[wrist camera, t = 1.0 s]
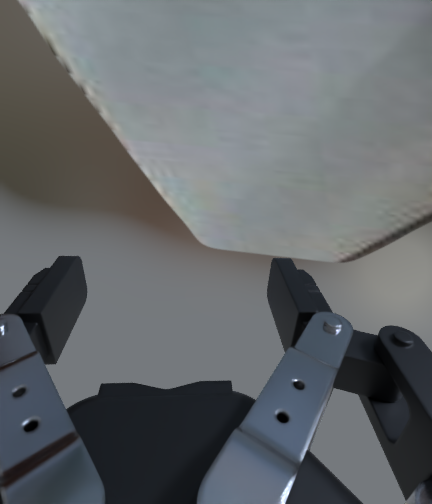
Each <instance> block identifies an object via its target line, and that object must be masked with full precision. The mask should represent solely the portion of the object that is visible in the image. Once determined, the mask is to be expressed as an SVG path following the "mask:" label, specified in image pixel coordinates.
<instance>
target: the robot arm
mask: <svg viewBox="0 0 432 504" xmlns="http://www.w3.org/2000/svg"><path fill="white" fill-rule="evenodd" d="M267 297H268V302H269V305H270V308H271V312H272V314H273V318H274V321H275V324H276V327H277V330H278V333H279V336H280V339H281V342H282V345H283V348H284V351H285V354H284V356H283V357H282V359H281V361H280V363H279V364H278V366H277V367H276V369H275V370H274V372H273V374H272V375H271V377H270V378H269V380H268V382H267V384H266V385H265V387H264V388H263V390H262V391H261V393H260V395H259V396H258V398H257V399H256V400H255V399H253V398H251V397H249V396H247V395H245V394H242V393H239V392H236V391H232V383H231V381H199V382H195V383H192V384H187V385H184V386H180V387H176V388H172V389H161V388H155V387H151V386H146V385H142V384H137V383H107V384H101V386H100V390H99V393H98V395H95V396H92V397H89V398H86V399H84V400H82V401H79V402H77V403H76V404H74V405H72V406H71V407H69V408H67V409H66V408H65V406H64V404H63V402H62V400H61V398H60V396H59V393H58V391H57V389H56V387H55V385H54V383H53V381H52V379H51V377H50V375H49V372H48V370H47V368H46V366H45V364H56V363H57V361H58V359H59V357H60V354H61V352H62V350H63V348H64V346H65V344H66V342H67V340H68V338H69V336H70V333H71V331H72V329H73V327H74V325H75V323H76V321H77V318H78V317H79V315H80V312H81V310H82V308H83V306H84V304H85V302H86V298H87V285H86V280H85V275H84V270H83V265H82V260H81V258H80V257H79V256H59V257H58V258H57V259H56V261H55V262H54V263H53V265H52V266H51V267H50V268H45V269H43V270H41V271H40V272H38V273H37V274H35V275H34V276H33V277H32V279H31V280H30V281H29V282H28V285H26V286H25V288H24V289H23V290H22V292H21V293H20V294H19V295H18V296H17V298H16V299H15V300H14V301H13V303H12V304H11V305H10V306H9V308H8V309H7V310H6V312H5V313H4V314H0V504H363V503H362V502H361V501H360V500H359V499H358V498H357V497H356V496H355V495H354V494H353V493H352V492H351V491H350V490H349V489H348V488H347V487H346V486H345V485H344V484H343V483H342V482H341V481H340V480H339V479H338V478H337V477H336V476H335V475H334V474H333V473H332V472H330V470H329V469H328V468H327V467H325V466H324V464H322V463H321V462H320V461H319V460H318V459H317V458H316V457H315V456H314V455H313V454H312V453H311V452H310V449H311V446H312V443H313V441H314V438H315V435H316V432H317V430H318V427H319V425H320V422H321V420H322V417H323V414H324V412H325V409H326V406H327V404H328V401H329V399H330V396H331V394H332V391H333V388H336V389H340V390H344V391H348V392H352V393H355V394H358V395H359V397H360V400H361V402H362V404H363V406H364V408H365V411H366V413H367V415H368V417H369V420H370V422H371V424H372V426H373V428H374V431H375V433H376V435H377V437H378V440H379V442H380V444H381V446H382V448H383V451H384V453H385V455H386V457H387V460H388V462H389V464H390V466H391V468H392V471H393V473H394V475H395V477H396V479H397V482H398V484H399V486H400V488H401V490H402V493H403V495H404V497H405V500H406V502H405V504H432V352H431V351H430V349H429V348H428V347H427V346H426V344H425V343H424V342H423V341H422V339H420V337H418V336H417V335H415V334H414V333H413V332H411V331H409V330H407V329H404V328H402V327H398V326H385V327H383V328H381V330H380V331H379V334H378V335H374V334H369V333H365V332H360V331H356V330H353V327H352V325H351V323H350V322H349V321H348V320H347V319H345V318H344V317H342V316H340V315H338V314H336V313H333V312H332V310H331V309H330V307H329V305H328V304H327V302H326V300H325V298H324V297H323V295H322V293H321V292H320V290H319V288H318V287H317V286H316V283H315V281H314V280H313V278H312V277H311V276H310V275H309V274H308V273H307V272H305V271H304V270H297V268H296V267H295V265H294V263H293V261H292V259H291V258H273V260H272V262H271V269H270V276H269V281H268V288H267Z"/></svg>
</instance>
